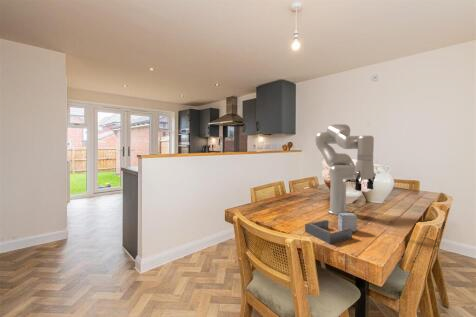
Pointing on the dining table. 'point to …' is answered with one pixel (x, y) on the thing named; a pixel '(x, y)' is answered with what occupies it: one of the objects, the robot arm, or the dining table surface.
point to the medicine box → (347, 221)
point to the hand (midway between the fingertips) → (364, 189)
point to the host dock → (319, 232)
